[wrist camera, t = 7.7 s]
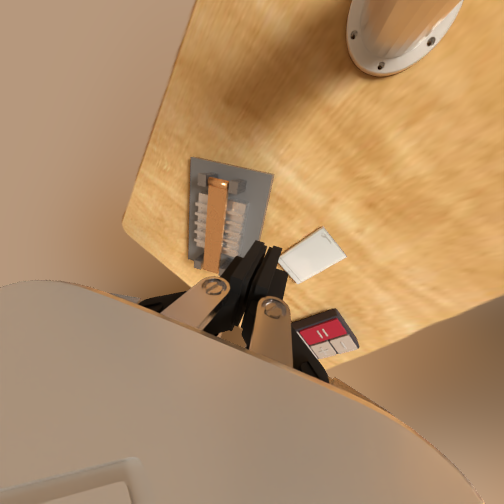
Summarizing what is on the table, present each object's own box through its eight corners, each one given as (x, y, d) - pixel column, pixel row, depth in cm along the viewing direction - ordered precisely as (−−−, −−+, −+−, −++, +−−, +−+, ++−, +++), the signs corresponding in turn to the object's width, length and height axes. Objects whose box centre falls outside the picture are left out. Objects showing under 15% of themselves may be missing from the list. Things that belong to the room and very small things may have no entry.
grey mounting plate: (196, 157, 39) (190, 156, 37) (274, 174, 36) (272, 174, 34) (192, 255, 50) (188, 258, 48) (252, 274, 47) (250, 278, 45)
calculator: (361, 350, 44) (304, 365, 50) (356, 336, 48) (304, 351, 54) (338, 317, 42) (282, 337, 48) (335, 305, 46) (283, 324, 52)
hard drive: (323, 227, 37) (275, 260, 43) (347, 257, 38) (298, 285, 44) (322, 225, 38) (276, 257, 44) (345, 254, 39) (298, 281, 45)
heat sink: (205, 171, 37) (191, 172, 33) (252, 181, 36) (244, 184, 31) (200, 256, 47) (189, 265, 42) (238, 267, 45) (230, 279, 41)
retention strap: (212, 176, 34) (208, 177, 32) (230, 180, 33) (227, 181, 32) (205, 266, 43) (202, 269, 42) (219, 271, 42) (216, 274, 41)
